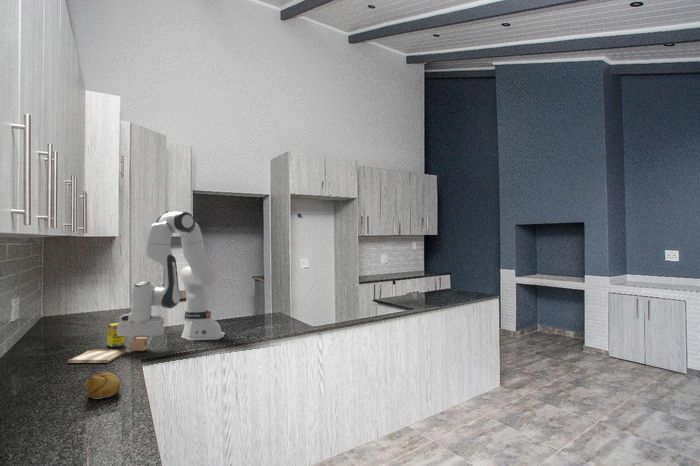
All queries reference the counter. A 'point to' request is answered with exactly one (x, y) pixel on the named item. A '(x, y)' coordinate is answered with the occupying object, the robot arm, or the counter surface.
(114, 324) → the supplement box
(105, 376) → the bread roll
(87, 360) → the board
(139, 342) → the cube
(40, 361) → the counter surface
